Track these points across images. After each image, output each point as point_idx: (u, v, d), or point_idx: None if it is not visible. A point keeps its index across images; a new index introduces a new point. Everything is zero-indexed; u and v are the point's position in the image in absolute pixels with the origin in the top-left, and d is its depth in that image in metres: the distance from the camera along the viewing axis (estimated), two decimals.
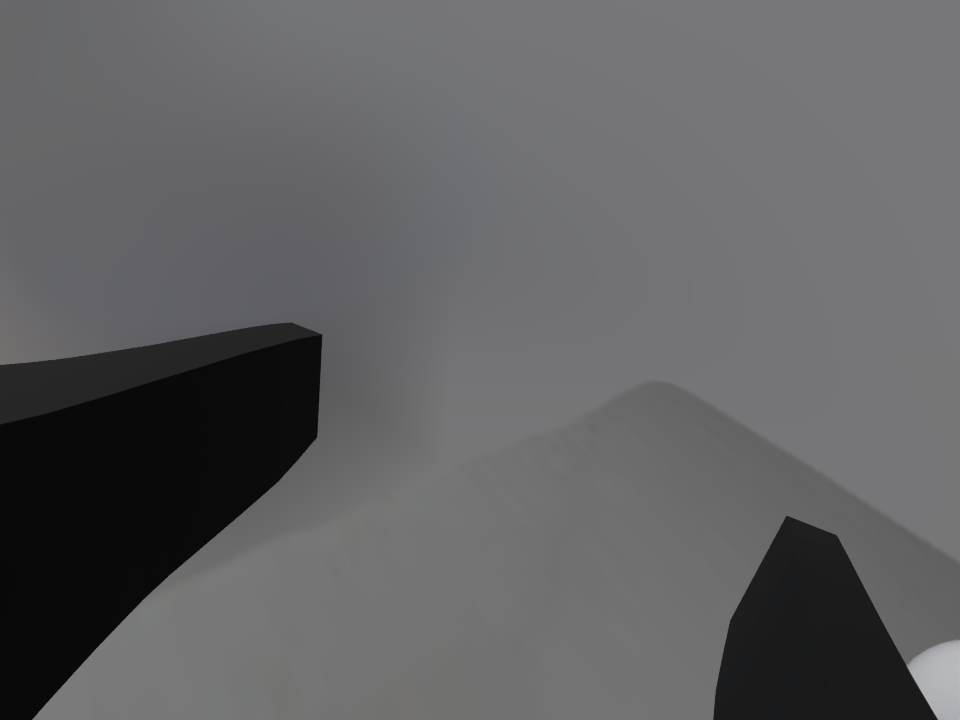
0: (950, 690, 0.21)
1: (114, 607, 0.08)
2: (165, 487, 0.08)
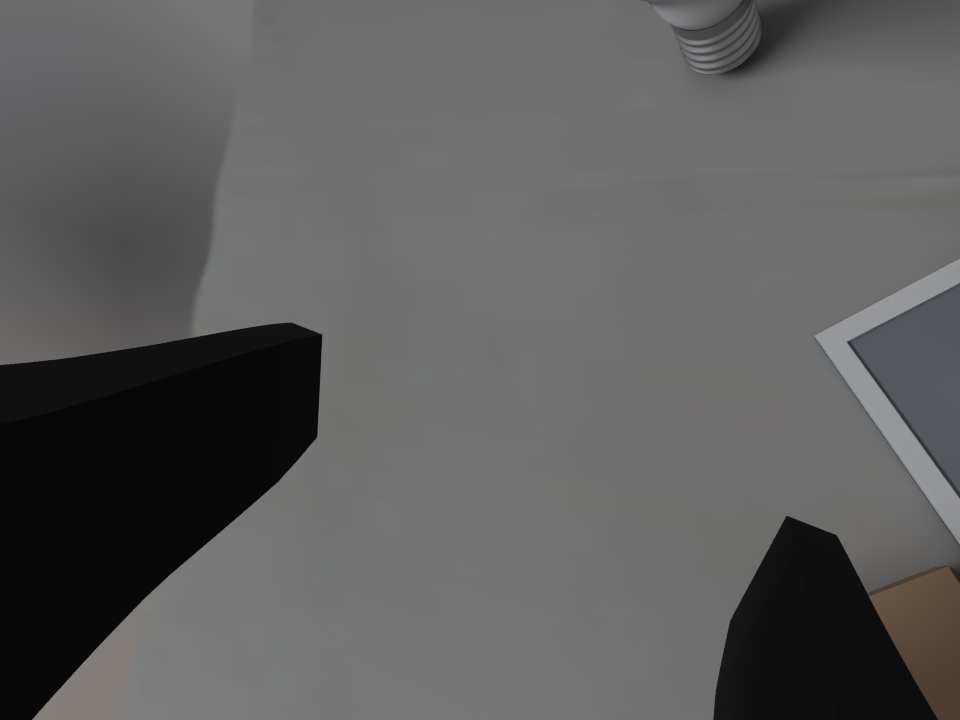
0: None
1: (114, 607, 0.08)
2: (165, 488, 0.08)
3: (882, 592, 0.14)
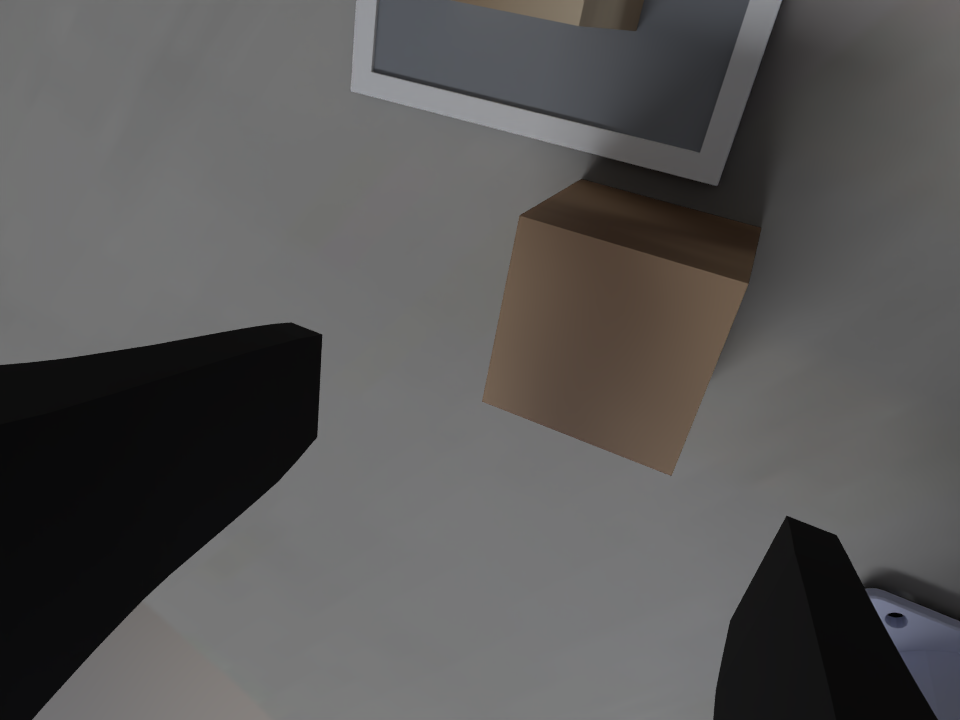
0: None
1: (113, 606, 0.08)
2: (165, 488, 0.08)
3: (508, 277, 0.14)
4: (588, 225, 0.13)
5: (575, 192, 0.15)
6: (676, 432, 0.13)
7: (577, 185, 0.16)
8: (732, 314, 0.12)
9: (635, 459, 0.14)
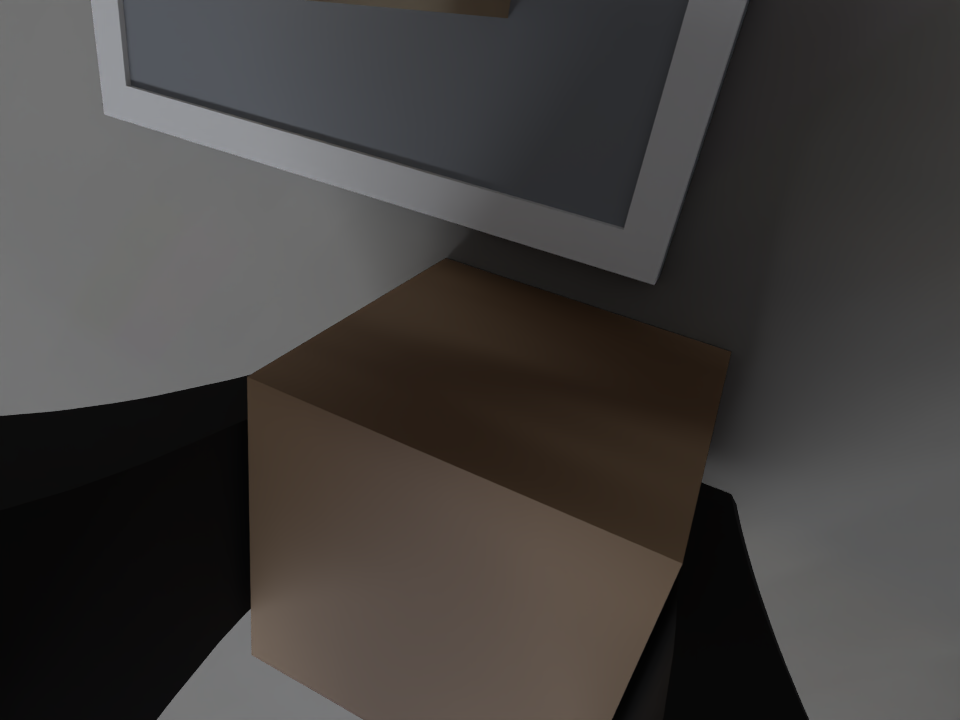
0: None
1: (192, 653, 0.08)
2: (245, 528, 0.08)
3: (250, 478, 0.07)
4: (387, 392, 0.07)
5: (412, 294, 0.09)
6: None
7: (426, 276, 0.10)
8: (652, 613, 0.06)
9: None
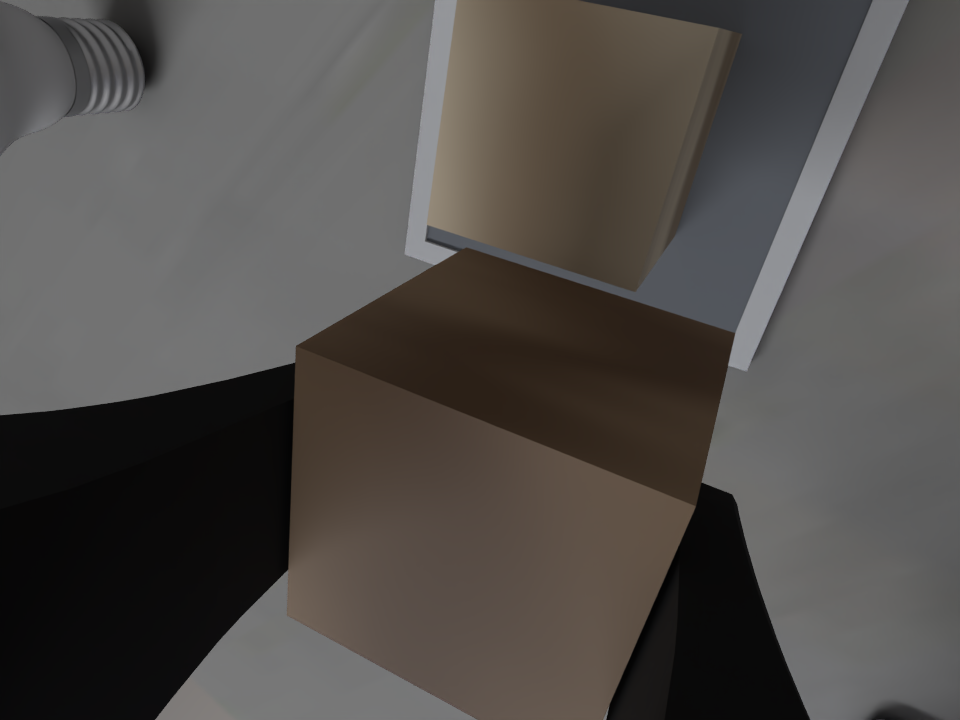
0: None
1: (190, 652, 0.08)
2: (244, 528, 0.08)
3: (294, 442, 0.08)
4: (423, 360, 0.07)
5: (438, 278, 0.10)
6: (582, 716, 0.08)
7: (450, 262, 0.10)
8: (667, 553, 0.06)
9: None
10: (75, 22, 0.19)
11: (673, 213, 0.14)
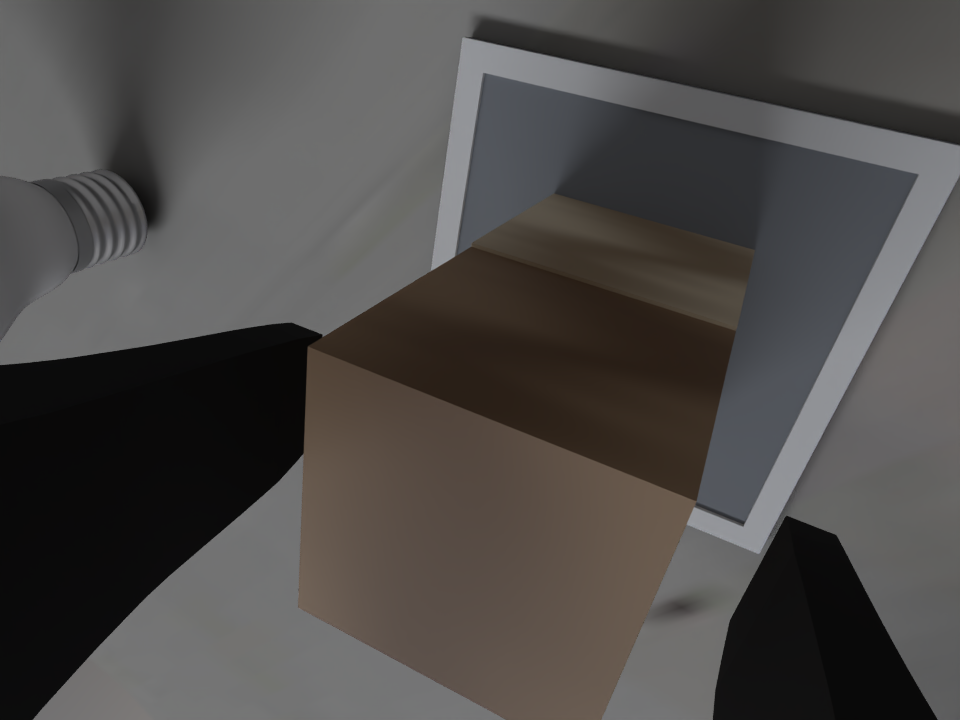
0: None
1: (114, 606, 0.08)
2: (165, 488, 0.08)
3: (305, 439, 0.08)
4: (431, 360, 0.08)
5: (444, 278, 0.10)
6: (586, 704, 0.08)
7: (455, 262, 0.10)
8: (669, 547, 0.07)
9: None
10: (77, 183, 0.19)
11: None
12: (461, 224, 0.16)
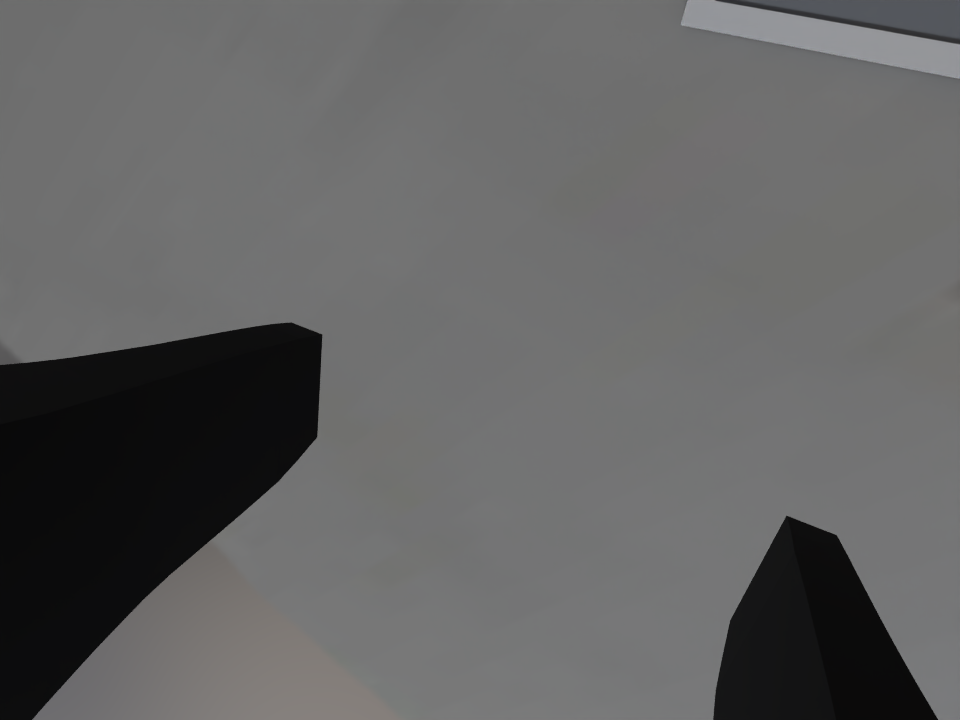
0: None
1: (114, 607, 0.08)
2: (165, 487, 0.08)
3: None
4: None
5: None
6: None
7: None
8: None
9: None
10: None
11: None
12: None
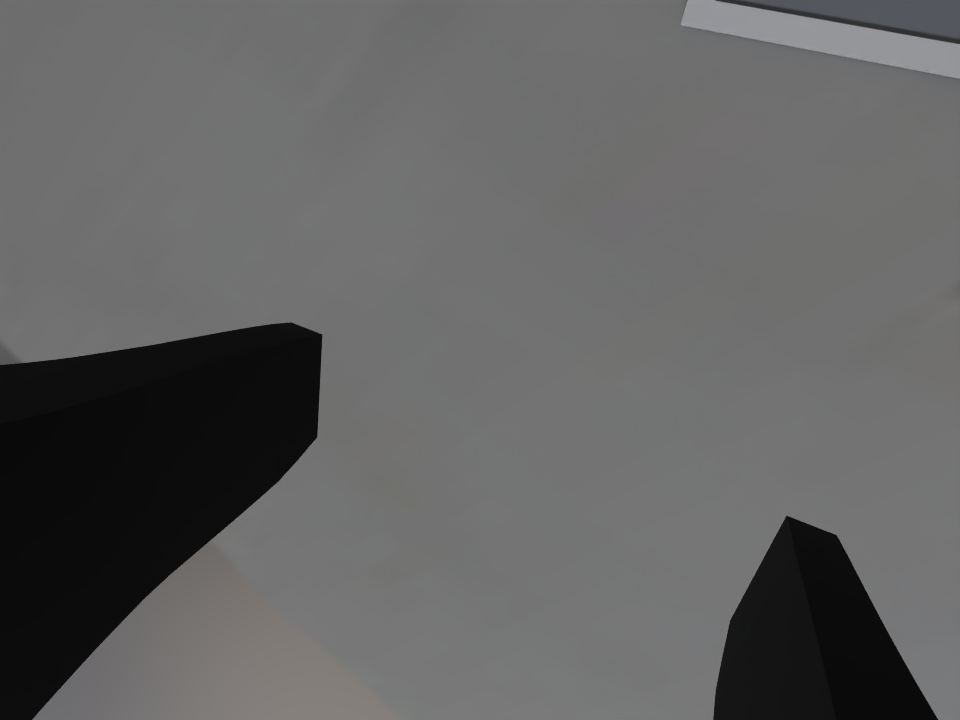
0: None
1: (114, 606, 0.08)
2: (165, 488, 0.08)
3: None
4: None
5: None
6: None
7: None
8: None
9: None
10: None
11: None
12: None
